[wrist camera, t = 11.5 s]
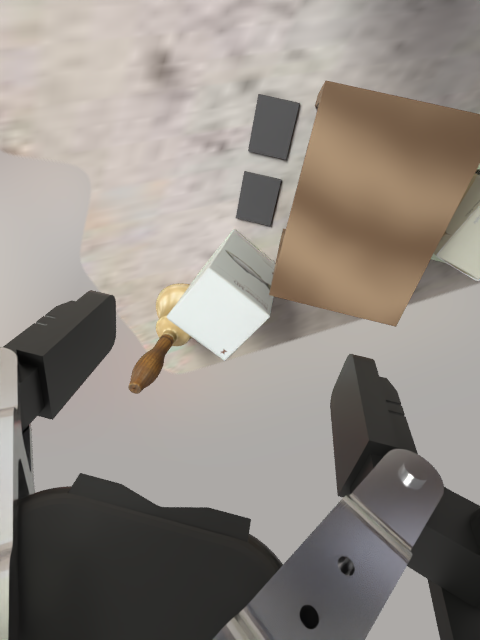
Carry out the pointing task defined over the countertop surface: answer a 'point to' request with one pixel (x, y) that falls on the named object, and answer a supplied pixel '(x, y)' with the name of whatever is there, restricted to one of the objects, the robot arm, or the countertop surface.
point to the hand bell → (168, 335)
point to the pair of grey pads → (271, 140)
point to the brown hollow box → (373, 200)
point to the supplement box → (227, 297)
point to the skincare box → (464, 234)
